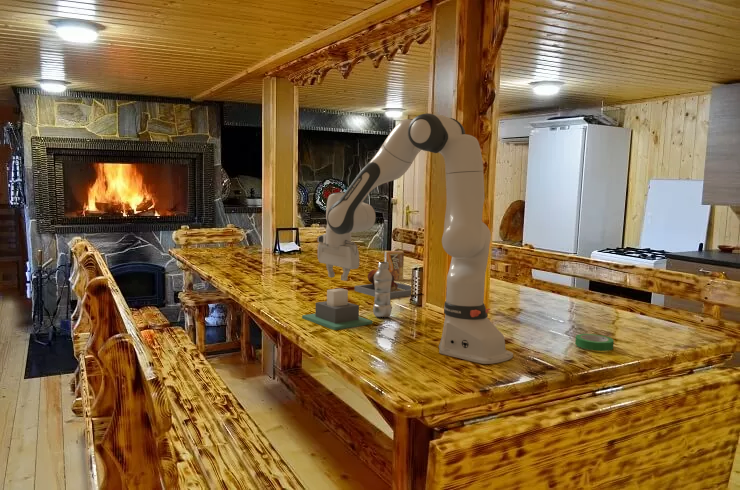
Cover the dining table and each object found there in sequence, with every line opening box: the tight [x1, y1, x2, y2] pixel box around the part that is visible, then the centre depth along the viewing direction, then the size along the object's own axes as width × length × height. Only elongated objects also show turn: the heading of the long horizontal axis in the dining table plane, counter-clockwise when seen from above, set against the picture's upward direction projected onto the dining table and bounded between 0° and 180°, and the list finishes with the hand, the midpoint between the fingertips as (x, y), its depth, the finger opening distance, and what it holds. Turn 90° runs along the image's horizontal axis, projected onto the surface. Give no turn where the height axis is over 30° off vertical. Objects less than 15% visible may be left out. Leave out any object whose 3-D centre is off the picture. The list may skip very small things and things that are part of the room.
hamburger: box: [367, 269, 398, 292], centre depth 260 cm, size 16×13×10 cm
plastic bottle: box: [372, 261, 392, 319], centre depth 210 cm, size 6×7×20 cm
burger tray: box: [354, 281, 412, 300], centre depth 255 cm, size 20×22×3 cm
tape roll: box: [575, 333, 615, 352], centre depth 181 cm, size 11×11×3 cm
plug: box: [326, 287, 349, 307], centre depth 203 cm, size 4×6×9 cm, turn 129°
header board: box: [301, 300, 374, 331], centre depth 203 cm, size 20×16×6 cm
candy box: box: [384, 250, 405, 281], centre depth 285 cm, size 9×4×15 cm, turn 103°
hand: (337, 278), depth 202 cm, fingers open, 6 cm apart
